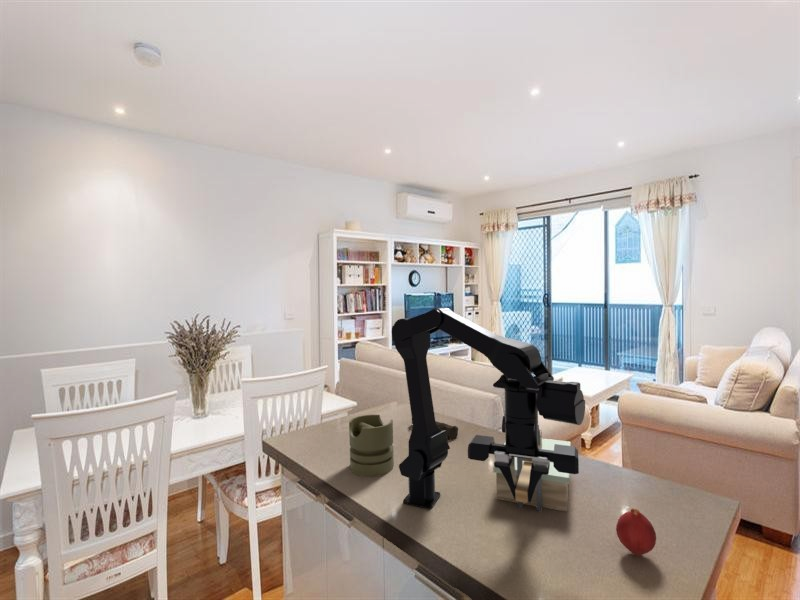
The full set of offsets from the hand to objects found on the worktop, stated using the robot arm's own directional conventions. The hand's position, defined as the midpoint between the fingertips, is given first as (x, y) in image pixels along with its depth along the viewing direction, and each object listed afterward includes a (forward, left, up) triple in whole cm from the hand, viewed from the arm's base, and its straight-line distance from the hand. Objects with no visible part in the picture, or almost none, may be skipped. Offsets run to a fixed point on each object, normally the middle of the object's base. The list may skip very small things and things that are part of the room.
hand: (522, 499), depth 73 cm
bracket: (+11, 0, -7) cm, 13 cm away
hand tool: (+47, +34, -7) cm, 59 cm away
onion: (+2, -18, -7) cm, 20 cm away
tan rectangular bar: (+5, 0, +1) cm, 5 cm away
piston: (+17, +40, -7) cm, 44 cm away
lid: (+22, 0, -2) cm, 22 cm away
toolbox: (+22, 0, -7) cm, 23 cm away
